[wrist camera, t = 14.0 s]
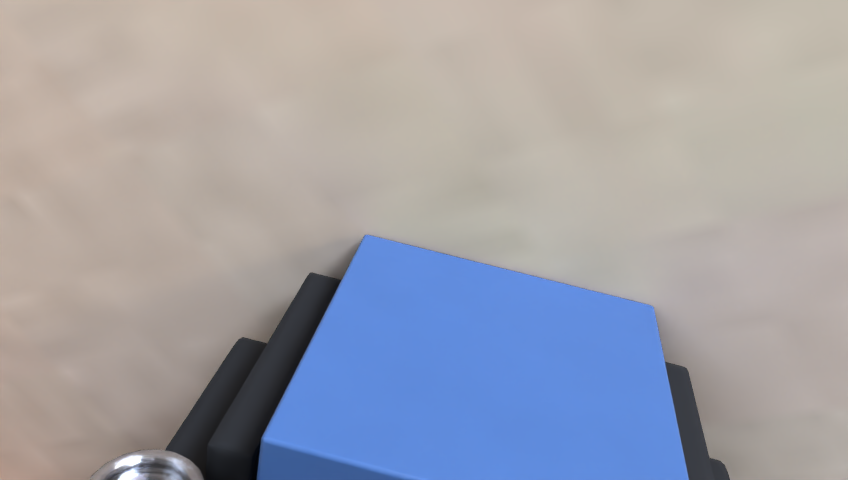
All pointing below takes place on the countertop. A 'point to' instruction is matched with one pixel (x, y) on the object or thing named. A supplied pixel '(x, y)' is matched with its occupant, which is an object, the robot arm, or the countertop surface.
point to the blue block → (473, 380)
